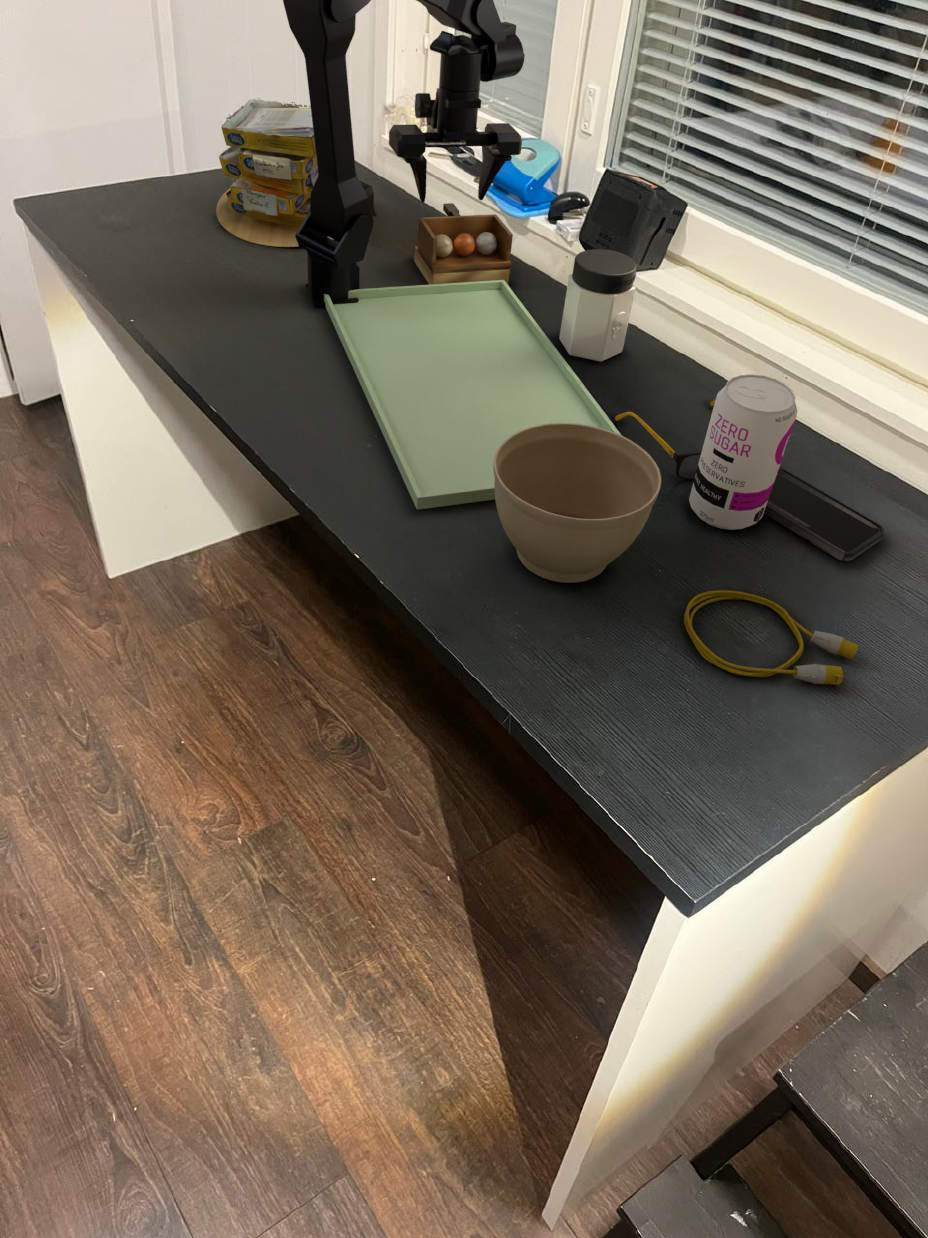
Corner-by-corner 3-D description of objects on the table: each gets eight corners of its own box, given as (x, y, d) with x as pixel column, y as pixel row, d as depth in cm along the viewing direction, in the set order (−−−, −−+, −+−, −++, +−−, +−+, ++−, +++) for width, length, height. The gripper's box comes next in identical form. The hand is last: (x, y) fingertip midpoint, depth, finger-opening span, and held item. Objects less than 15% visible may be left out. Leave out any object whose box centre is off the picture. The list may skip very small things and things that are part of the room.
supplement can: (765, 497, 108) (804, 380, 97) (756, 541, 103) (797, 422, 92) (694, 480, 110) (725, 364, 99) (682, 522, 104) (713, 404, 94)
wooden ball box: (432, 274, 139) (434, 239, 135) (408, 237, 148) (409, 204, 144) (510, 269, 142) (514, 235, 139) (482, 233, 151) (485, 201, 147)
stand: (432, 289, 140) (433, 273, 139) (414, 260, 147) (414, 245, 146) (508, 284, 144) (509, 269, 142) (487, 256, 150) (488, 241, 149)
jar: (591, 368, 127) (608, 281, 119) (547, 343, 131) (560, 258, 123) (633, 348, 132) (651, 264, 124) (589, 325, 136) (604, 242, 128)
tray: (416, 509, 102) (417, 497, 101) (323, 301, 135) (322, 291, 134) (644, 480, 109) (647, 468, 108) (502, 289, 142) (503, 279, 141)
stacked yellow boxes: (308, 262, 144) (304, 145, 132) (184, 218, 152) (170, 104, 140) (399, 215, 160) (402, 107, 148) (282, 177, 168) (277, 72, 156)
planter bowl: (598, 497, 106) (617, 413, 99) (665, 593, 95) (691, 506, 88) (462, 517, 102) (471, 430, 94) (516, 619, 91) (530, 530, 83)
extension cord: (794, 726, 84) (802, 712, 82) (657, 626, 92) (662, 611, 90) (866, 665, 90) (874, 650, 89) (733, 576, 98) (738, 562, 97)
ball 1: (434, 260, 140) (434, 237, 138) (428, 255, 143) (428, 232, 141) (455, 259, 141) (455, 236, 139) (448, 253, 144) (448, 231, 142)
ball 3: (479, 257, 142) (480, 235, 140) (472, 252, 145) (473, 230, 143) (499, 256, 143) (500, 234, 141) (492, 251, 145) (493, 229, 144)
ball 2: (457, 258, 141) (457, 236, 139) (450, 253, 144) (450, 231, 142) (477, 257, 142) (478, 235, 140) (470, 252, 144) (471, 230, 143)
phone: (776, 464, 112) (888, 529, 104) (773, 472, 112) (884, 537, 105) (735, 487, 108) (849, 556, 100) (732, 495, 108) (845, 564, 101)
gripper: (502, 69, 141) (492, 178, 152) (380, 69, 136) (378, 182, 147) (529, 92, 134) (516, 205, 144) (400, 93, 129) (397, 210, 139)
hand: (451, 200), depth 144 cm, fingers open, 9 cm apart
